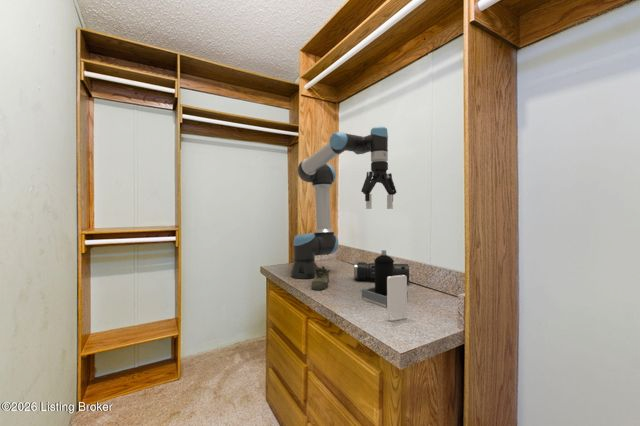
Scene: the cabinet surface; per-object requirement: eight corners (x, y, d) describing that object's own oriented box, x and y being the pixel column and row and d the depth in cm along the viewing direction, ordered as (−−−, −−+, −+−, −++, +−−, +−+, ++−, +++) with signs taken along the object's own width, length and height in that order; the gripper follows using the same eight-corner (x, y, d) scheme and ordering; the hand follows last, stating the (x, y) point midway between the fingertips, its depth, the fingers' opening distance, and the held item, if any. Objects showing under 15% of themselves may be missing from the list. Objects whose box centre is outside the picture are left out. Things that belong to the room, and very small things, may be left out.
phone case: (404, 316, 100) (404, 274, 100) (407, 318, 99) (406, 275, 99) (387, 319, 98) (386, 276, 98) (389, 321, 96) (389, 277, 96)
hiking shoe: (309, 292, 132) (309, 266, 132) (317, 282, 152) (317, 259, 152) (327, 293, 131) (326, 267, 131) (333, 282, 150) (332, 260, 150)
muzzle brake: (409, 285, 143) (409, 265, 143) (353, 283, 148) (353, 263, 148) (407, 281, 152) (407, 262, 152) (355, 279, 158) (355, 260, 158)
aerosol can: (390, 301, 114) (390, 252, 114) (371, 298, 118) (371, 251, 118) (397, 296, 121) (396, 249, 121) (378, 293, 125) (378, 248, 125)
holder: (361, 299, 121) (361, 289, 121) (383, 293, 129) (383, 284, 129) (385, 307, 110) (385, 297, 110) (407, 301, 118) (407, 291, 118)
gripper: (365, 157, 118) (365, 208, 118) (404, 163, 132) (404, 208, 132) (353, 160, 124) (353, 208, 124) (391, 165, 138) (391, 208, 138)
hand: (379, 208), depth 128 cm, fingers open, 13 cm apart
